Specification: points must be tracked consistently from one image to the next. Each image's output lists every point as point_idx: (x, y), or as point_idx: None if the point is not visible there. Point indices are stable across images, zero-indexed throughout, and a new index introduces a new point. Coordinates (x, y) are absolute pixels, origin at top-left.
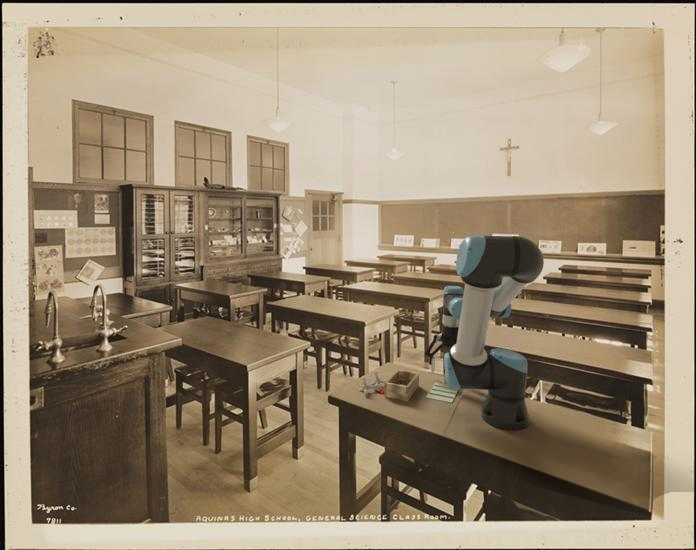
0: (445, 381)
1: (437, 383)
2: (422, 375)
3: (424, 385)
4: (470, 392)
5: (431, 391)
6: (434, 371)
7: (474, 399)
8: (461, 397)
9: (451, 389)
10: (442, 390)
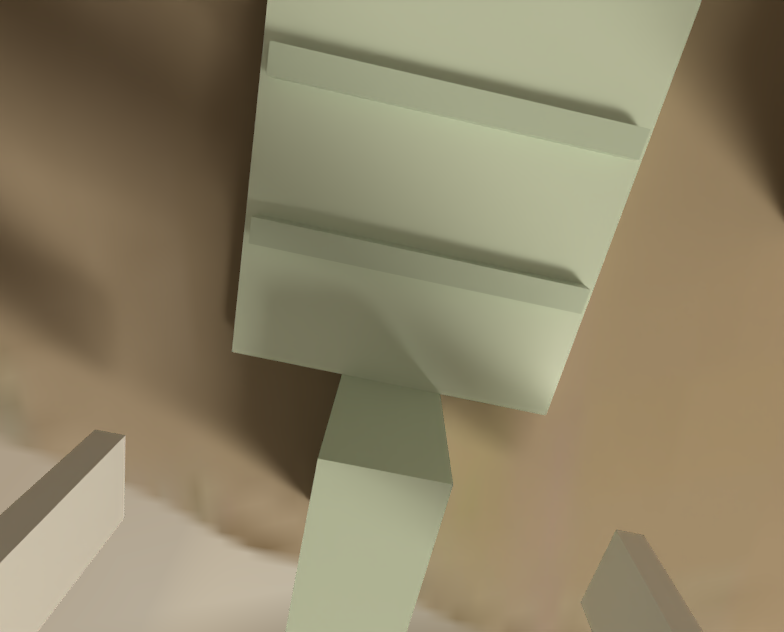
0: (422, 405)
1: (527, 370)
2: None
3: (691, 327)
4: (101, 255)
5: (653, 48)
6: (582, 601)
7: (6, 20)
8: (192, 42)
9: (337, 216)
10: (476, 86)
